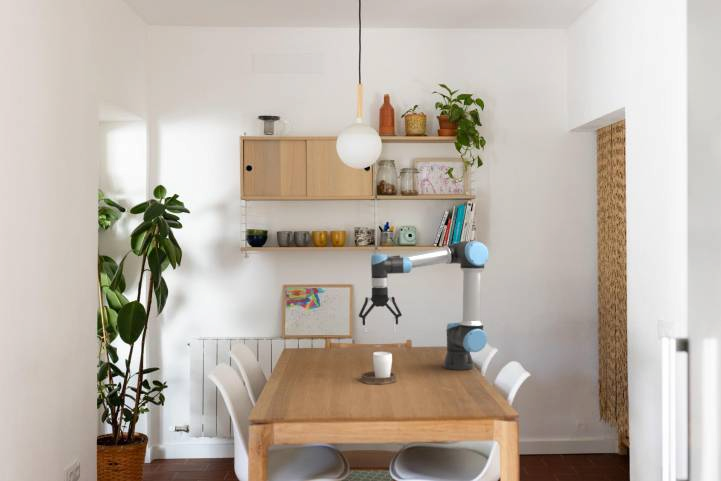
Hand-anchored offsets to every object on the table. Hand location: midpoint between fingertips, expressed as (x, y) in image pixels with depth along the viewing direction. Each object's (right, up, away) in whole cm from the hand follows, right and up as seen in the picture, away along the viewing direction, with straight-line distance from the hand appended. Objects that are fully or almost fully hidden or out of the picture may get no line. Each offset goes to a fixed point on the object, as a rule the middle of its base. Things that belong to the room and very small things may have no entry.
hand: (380, 331), depth 315 cm
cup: (+1, -22, -2) cm, 22 cm away
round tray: (-1, -23, -2) cm, 23 cm away
